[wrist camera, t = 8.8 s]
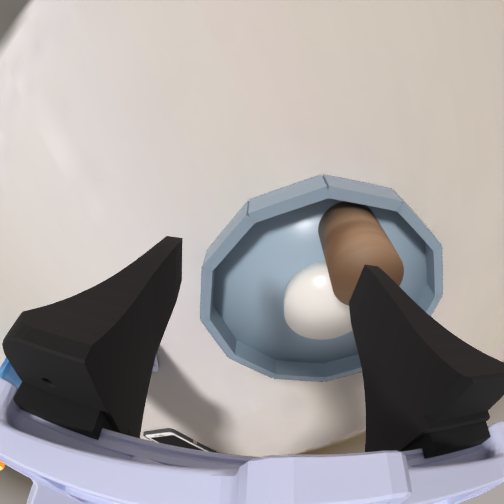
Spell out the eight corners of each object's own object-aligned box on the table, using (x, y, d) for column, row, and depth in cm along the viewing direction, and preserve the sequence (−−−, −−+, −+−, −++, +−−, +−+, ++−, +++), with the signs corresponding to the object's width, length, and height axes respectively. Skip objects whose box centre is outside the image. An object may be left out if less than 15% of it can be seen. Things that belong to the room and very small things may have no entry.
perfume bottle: (53, 366, 36) (22, 432, 26) (39, 373, 39) (12, 432, 28) (21, 339, 34) (-15, 404, 24) (11, 349, 36) (-21, 407, 26)
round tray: (381, 366, 32) (385, 382, 30) (202, 352, 31) (199, 369, 29) (465, 208, 21) (479, 220, 19) (213, 158, 20) (207, 168, 18)
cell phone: (197, 458, 52) (196, 462, 51) (142, 430, 46) (140, 434, 45) (227, 455, 49) (227, 459, 49) (171, 425, 43) (170, 431, 42)
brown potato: (366, 256, 23) (388, 309, 18) (312, 250, 23) (323, 304, 18) (383, 205, 21) (414, 251, 16) (325, 196, 21) (343, 241, 16)
